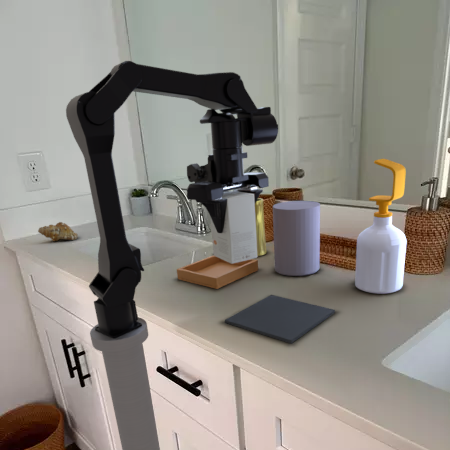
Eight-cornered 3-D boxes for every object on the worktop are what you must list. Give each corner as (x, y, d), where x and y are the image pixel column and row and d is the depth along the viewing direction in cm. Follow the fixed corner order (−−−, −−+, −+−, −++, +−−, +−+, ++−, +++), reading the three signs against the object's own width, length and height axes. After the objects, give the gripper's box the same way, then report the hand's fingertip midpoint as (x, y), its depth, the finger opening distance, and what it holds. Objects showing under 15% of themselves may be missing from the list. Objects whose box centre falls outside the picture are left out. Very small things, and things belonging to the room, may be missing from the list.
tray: (217, 289, 92) (216, 278, 91) (177, 279, 100) (176, 269, 99) (258, 270, 102) (258, 260, 101) (219, 262, 110) (218, 253, 109)
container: (297, 260, 107) (296, 199, 101) (328, 269, 99) (330, 203, 93) (265, 269, 101) (263, 206, 96) (296, 280, 94) (295, 211, 88)
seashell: (63, 252, 143) (41, 229, 138) (55, 252, 150) (34, 230, 145) (82, 235, 147) (62, 211, 142) (74, 235, 153) (54, 213, 148)
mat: (291, 343, 67) (291, 340, 67) (224, 322, 76) (224, 319, 76) (334, 312, 77) (335, 309, 76) (271, 297, 86) (271, 294, 85)
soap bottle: (368, 276, 93) (375, 157, 83) (410, 284, 86) (422, 156, 77) (346, 288, 87) (351, 162, 78) (389, 298, 81) (400, 162, 72)
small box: (258, 258, 87) (255, 193, 82) (231, 264, 85) (226, 198, 80) (238, 250, 94) (234, 189, 89) (212, 255, 91) (207, 194, 87)
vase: (260, 257, 111) (257, 202, 106) (239, 255, 114) (236, 201, 109) (270, 251, 116) (268, 197, 110) (250, 249, 119) (248, 197, 114)
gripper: (227, 145, 93) (231, 217, 99) (162, 153, 80) (172, 235, 86) (269, 144, 86) (271, 221, 92) (205, 152, 73) (212, 241, 79)
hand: (232, 228), depth 87 cm, fingers closed on small box, 7 cm apart
